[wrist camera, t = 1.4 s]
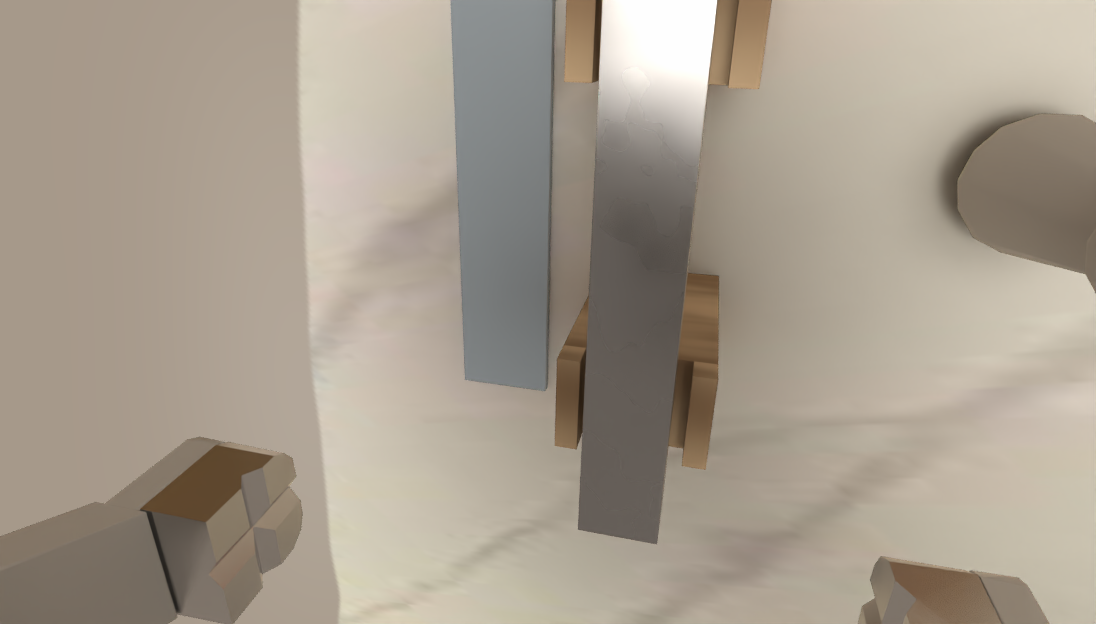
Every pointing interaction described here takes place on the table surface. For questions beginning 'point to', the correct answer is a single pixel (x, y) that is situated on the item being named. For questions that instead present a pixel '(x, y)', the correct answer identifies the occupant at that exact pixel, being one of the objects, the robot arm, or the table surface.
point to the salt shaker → (1035, 191)
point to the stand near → (733, 44)
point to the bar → (640, 252)
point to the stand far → (691, 379)
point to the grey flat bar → (504, 185)
